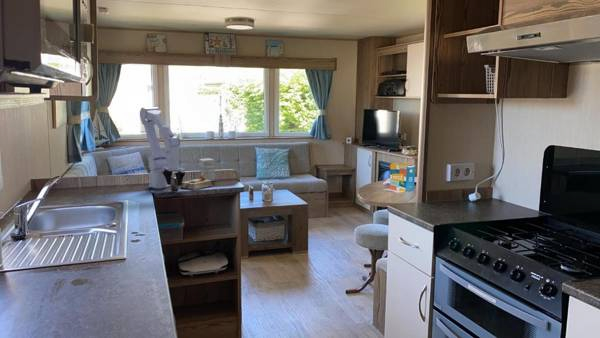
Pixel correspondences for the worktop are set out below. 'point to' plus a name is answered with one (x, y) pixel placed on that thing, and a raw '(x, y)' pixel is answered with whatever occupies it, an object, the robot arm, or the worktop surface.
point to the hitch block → (196, 184)
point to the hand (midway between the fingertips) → (174, 184)
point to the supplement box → (207, 168)
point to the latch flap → (201, 177)
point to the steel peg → (174, 184)
